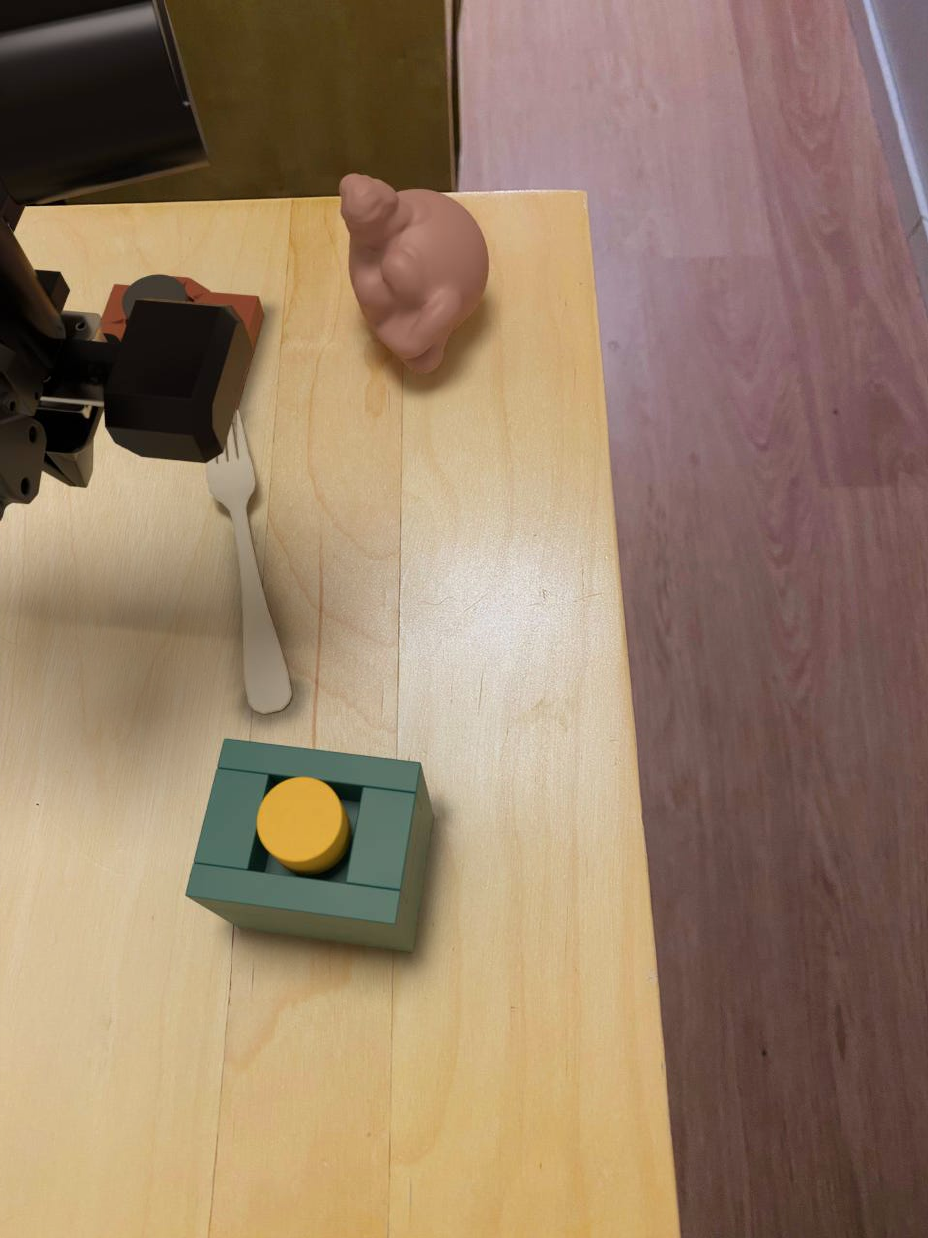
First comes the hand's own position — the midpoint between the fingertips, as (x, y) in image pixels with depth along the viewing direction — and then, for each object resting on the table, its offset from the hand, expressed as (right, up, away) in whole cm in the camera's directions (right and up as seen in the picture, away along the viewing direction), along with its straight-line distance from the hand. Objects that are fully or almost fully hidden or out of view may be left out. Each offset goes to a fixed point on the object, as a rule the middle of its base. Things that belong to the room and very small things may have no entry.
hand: (82, 479), depth 47 cm
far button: (-1, +12, +17) cm, 21 cm away
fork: (+5, -3, +13) cm, 14 cm away
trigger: (+11, -16, -3) cm, 20 cm away
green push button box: (+11, -20, +5) cm, 23 cm away
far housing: (-1, +11, +20) cm, 23 cm away
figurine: (+15, +13, +20) cm, 28 cm away
